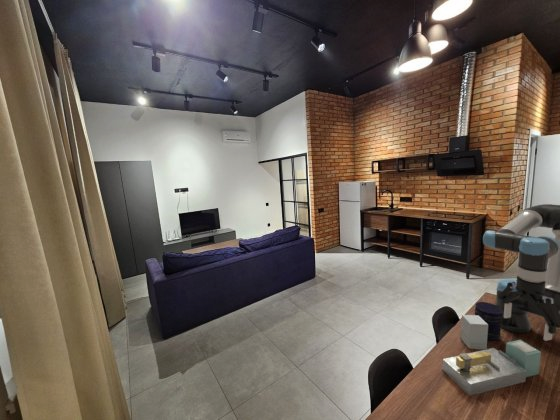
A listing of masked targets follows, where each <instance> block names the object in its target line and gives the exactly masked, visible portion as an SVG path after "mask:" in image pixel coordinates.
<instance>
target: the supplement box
mask: <svg viewBox="0 0 560 420" xmlns="http://www.w3.org/2000/svg"><path fill="white" fill-rule="evenodd" d="M460 325H461V327H460V339H461V340H462V342H463V343H464V344H465V345H466V346H467V348H468V349H472V350H473V349H474V350H486V349H488V348H487V347H488V345H487V344H488V341H487V335H488V324H487V323H486V322H485V321H484V320H483V319H482V318H481V317H480V316H479V315H475V314H461V323H460Z"/></svg>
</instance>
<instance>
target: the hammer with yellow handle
mask: <svg viewBox="0 0 560 420" xmlns="http://www.w3.org/2000/svg"><path fill="white" fill-rule="evenodd" d="M467 354H468V353H466V352H464V353H459V354H458V356H459V357H456V365H457V366H458V367H459V368H460V369H462V370H464V371H467V372H468V371H470V367H472V366H477V365H482V364H487V363H491V354H489V353H488V352H487V351H485V352H479V353H474V354H469V355H467Z"/></svg>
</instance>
